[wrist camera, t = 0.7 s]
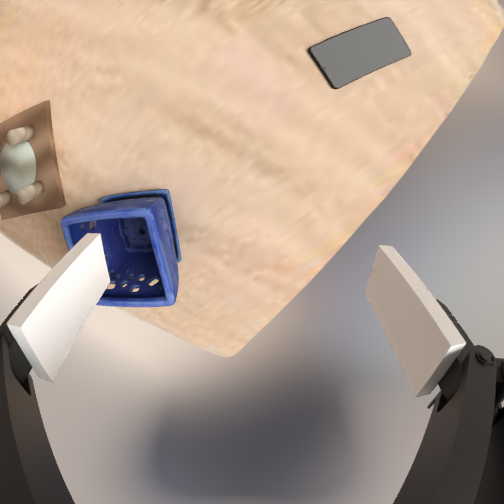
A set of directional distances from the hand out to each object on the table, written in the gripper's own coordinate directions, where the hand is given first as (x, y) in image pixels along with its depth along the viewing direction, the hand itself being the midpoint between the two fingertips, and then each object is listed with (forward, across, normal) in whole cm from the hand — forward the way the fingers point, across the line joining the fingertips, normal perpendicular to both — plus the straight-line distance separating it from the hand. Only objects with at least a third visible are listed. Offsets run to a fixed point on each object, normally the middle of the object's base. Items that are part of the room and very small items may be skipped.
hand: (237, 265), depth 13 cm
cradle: (+28, -39, +1) cm, 48 cm away
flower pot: (+28, -15, -10) cm, 33 cm away
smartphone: (+28, +15, +18) cm, 37 cm away
